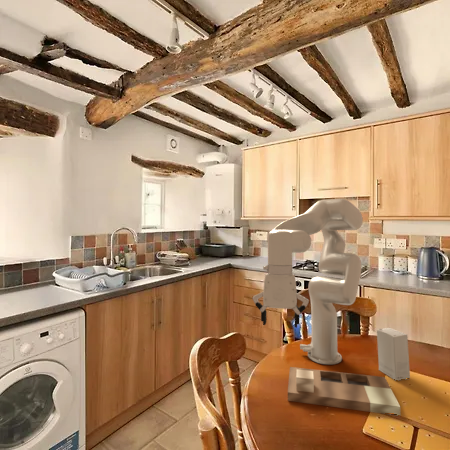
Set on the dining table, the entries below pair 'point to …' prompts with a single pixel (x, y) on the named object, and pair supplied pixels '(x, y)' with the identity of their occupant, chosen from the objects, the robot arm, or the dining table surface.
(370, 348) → the dining table surface
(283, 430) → the dining table surface
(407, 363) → the skincare box
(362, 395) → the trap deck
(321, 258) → the robot arm
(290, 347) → the dining table surface
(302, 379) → the maple block
